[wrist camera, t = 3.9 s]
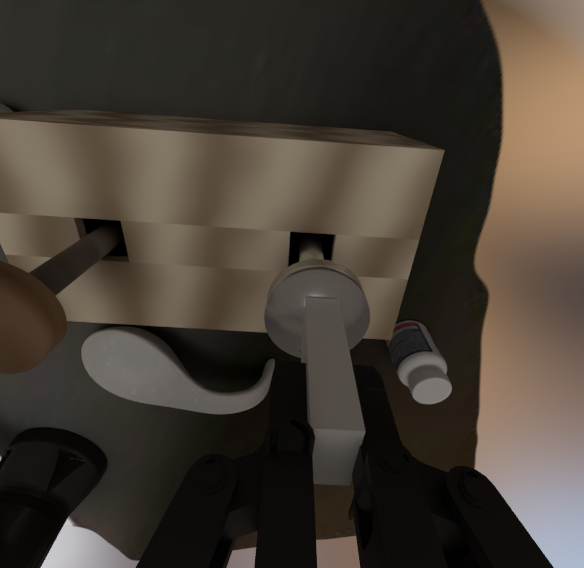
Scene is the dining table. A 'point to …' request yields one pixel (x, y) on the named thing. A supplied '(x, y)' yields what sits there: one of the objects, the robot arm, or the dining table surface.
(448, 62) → the dining table surface
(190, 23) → the dining table surface
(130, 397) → the spoon rest
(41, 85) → the dining table surface
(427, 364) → the pill bottle
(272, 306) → the grey rounded part
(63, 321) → the walnut plunger
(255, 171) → the stand
